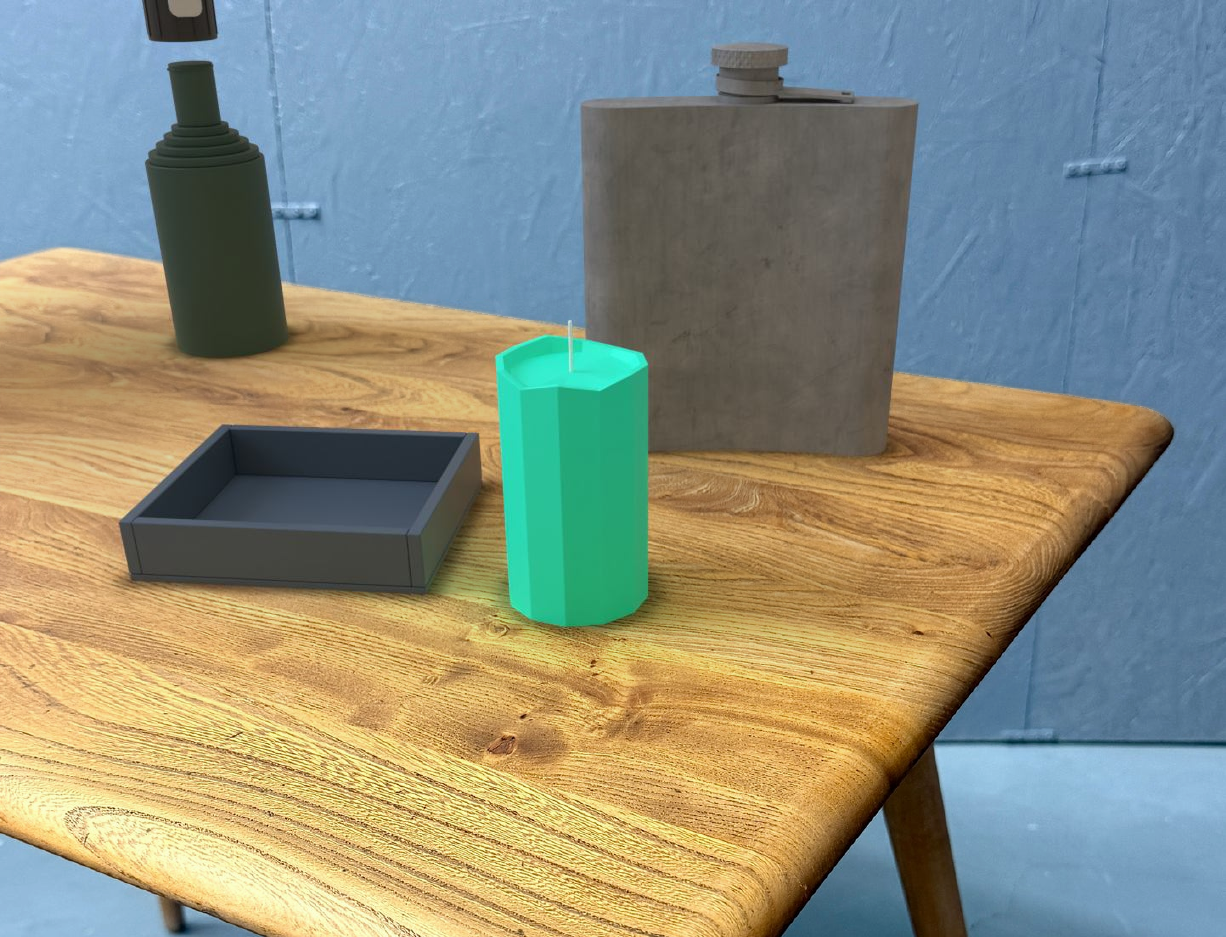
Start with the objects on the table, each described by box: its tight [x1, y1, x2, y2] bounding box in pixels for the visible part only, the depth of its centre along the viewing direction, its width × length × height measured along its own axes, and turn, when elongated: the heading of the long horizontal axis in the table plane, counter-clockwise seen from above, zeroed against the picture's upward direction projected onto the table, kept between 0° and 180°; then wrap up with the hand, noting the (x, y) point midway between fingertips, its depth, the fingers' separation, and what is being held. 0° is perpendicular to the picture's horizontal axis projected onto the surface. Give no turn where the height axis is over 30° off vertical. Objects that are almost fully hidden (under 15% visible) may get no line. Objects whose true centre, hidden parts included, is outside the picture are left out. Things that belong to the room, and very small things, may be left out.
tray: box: [118, 423, 483, 596], centre depth 61 cm, size 13×12×3 cm
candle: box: [494, 319, 649, 628], centre depth 53 cm, size 6×6×12 cm
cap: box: [141, 0, 219, 43], centre depth 77 cm, size 4×4×4 cm
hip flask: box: [579, 41, 920, 458], centre depth 66 cm, size 16×4×20 cm, turn 87°
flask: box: [144, 60, 290, 359], centre depth 83 cm, size 7×7×18 cm
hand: (180, 12), depth 78 cm, fingers closed on cap, 4 cm apart
